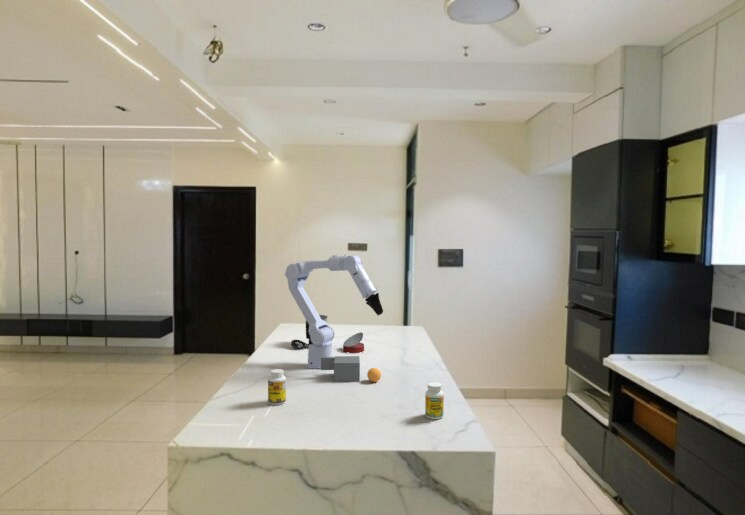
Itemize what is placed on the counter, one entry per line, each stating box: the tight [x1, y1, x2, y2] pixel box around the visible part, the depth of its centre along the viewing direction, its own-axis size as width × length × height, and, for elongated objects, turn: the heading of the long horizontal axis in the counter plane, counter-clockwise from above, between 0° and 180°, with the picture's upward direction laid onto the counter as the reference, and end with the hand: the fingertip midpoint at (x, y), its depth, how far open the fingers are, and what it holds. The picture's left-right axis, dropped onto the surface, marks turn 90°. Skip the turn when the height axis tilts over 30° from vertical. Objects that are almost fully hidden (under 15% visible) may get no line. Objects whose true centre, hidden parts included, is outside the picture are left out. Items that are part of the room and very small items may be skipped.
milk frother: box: [290, 314, 328, 350], centre depth 212 cm, size 14×16×15 cm
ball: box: [366, 367, 382, 383], centre depth 163 cm, size 5×5×5 cm
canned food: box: [342, 331, 365, 354], centre depth 207 cm, size 11×10×10 cm
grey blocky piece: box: [320, 355, 361, 383], centre depth 167 cm, size 14×9×8 cm, turn 93°
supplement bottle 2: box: [424, 381, 445, 420], centre depth 132 cm, size 5×5×10 cm
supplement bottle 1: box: [267, 368, 287, 406], centre depth 141 cm, size 6×6×10 cm
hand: (380, 313), depth 171 cm, fingers open, 7 cm apart
